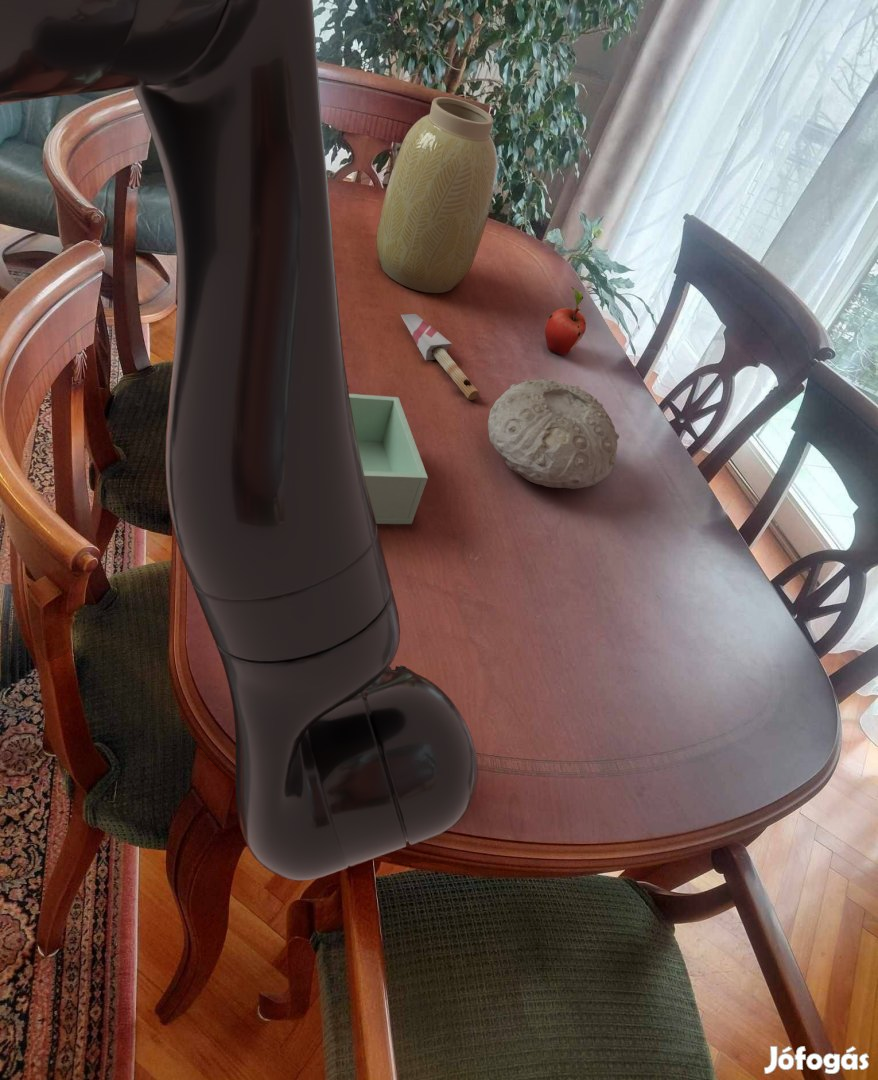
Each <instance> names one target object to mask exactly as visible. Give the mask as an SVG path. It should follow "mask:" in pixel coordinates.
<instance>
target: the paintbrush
mask: <svg viewBox="0 0 878 1080" xmlns="http://www.w3.org/2000/svg"><path fill="white" fill-rule="evenodd" d="M400 316H401V318H402V320H403V322H404V324H405V326H406V328H407V329H408V331H409V333H410V335H411V336H412V339H413V341H414V342H415V345H416V346H417V348H418V349H419V352H420V353H421V355H422V357H423V359H424V361H433V360H434V361H435V360H436V361H437V362H438V363H439V365H440V367H442V368H443V370H444V371H445V372H446V373H447V374H448V376H449V377H450V378H451V379H452V381H453V382H454V383H455V384H456V386H457V387H458V389H459V390H460V391H461V392H462V393H463V395H464V396H465V397H466V398H467V400H469V401H474V400H476V399H477V398H478V396H479V395H480V392H479V390H478V389H477V388H476V386H475V384H474V383H472V382H471V380H469V378H468V376H466V374H465V373H464V371H463V370H462V369H461V368H460V367H459V366H458V364H457V363H456V362H455V361H454V359H453V358H452V357H451V356H450V354H449V353H448V352H447V351H448V349H449V347H451V345H452V344H453V343H452V342H451V341H449V340H448V339H447V338H446V337H445V336H443V335H442V334H441V333H440V332H439V331H437V330H436V329H435V328H434V327H432V326H431V325H430V324H429V323H427V322H426V321H425V320H424V319H422V317H420V316H419V315H418V314H416V313H408V314H407V313H406V314H400Z"/></svg>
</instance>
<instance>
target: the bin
mask: <svg viewBox="0 0 878 1080" xmlns="http://www.w3.org/2000/svg"><path fill="white" fill-rule="evenodd" d="M349 398H350V404H351V410H352V416H353V421H354V427H355V433H356V439H357V444H358V448H359V453H360V458H361V463H362V468H363V472H364V477H365V482H366V486H367V490H368V493H369V497H370V501H371V505H372V509H373V513H374V516H375V520H376V525H412V524H413V522H414V518H415V516H416V513H417V510H418V507H419V504H420V502H421V500H422V497H423V493H424V490H425V488H426V485H427V482H428V479H429V477H428V474H427V471H426V469H425V466H424V463H423V460H422V458H421V454H420V452H419V449H418V447H417V444H416V441H415V439H414V436H413V433H412V429H411V427H410V424H409V422H408V419H407V417H406V414H405V411H404V408H403V406H402V403H401V400H400V398H399V396H387V395H386V396H385V395H375V394H374V395H372V394H359V393H349Z"/></svg>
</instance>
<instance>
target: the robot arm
mask: <svg viewBox="0 0 878 1080" xmlns="http://www.w3.org/2000/svg"><path fill="white" fill-rule="evenodd" d="M317 54H318V53H317V43H316V27H315V13H314V2H313V0H0V106H2V105H7V104H12V103H13V104H14V103H19V102H20V103H21V102H26V101H32V100H33V101H34V100H39V99H46V98H53V97H65V96H74V95H75V96H76V95H83V94H91V93H101V92H109V91H119V90H126V89H127V90H128V89H133V92H134V94H135V98H136V99H137V101H138V104H139V106H140V109H141V111H142V113H143V116H144V119H145V122H146V124H147V127H148V130H149V133H150V135H151V138H152V140H153V141H152V142H154V147H155V148H156V149H155V150H156V152H157V156H158V158H159V162H160V165H161V170H162V172H163V176H164V177H163V178H164V181H165V186H166V189H167V194H168V198H169V203H170V210H171V215H172V216H171V217H172V222H173V229H174V231H173V232H174V238H175V246H176V276H177V277H176V279H177V281H176V283H177V284H176V285H177V290H176V291H177V303H176V318H175V319H176V320H175V334H174V335H175V337H174V350H173V360H172V370H171V371H172V372H171V379H170V388H169V398H168V409H167V410H168V411H167V421H166V432H165V453H164V454H165V455H164V461H165V484H166V485H165V486H166V492H167V493H166V494H167V502H168V509H169V515H170V519H171V524H172V529H173V534H174V537H175V541H176V544H177V547H178V550H179V554H180V556H181V559H182V562H183V566H184V568H185V570H186V572H187V575H188V577H189V580H190V582H191V585H192V588H193V590H194V593H195V595H196V598H197V600H198V603H199V606H200V608H201V610H202V613H203V617H204V619H205V620H206V623H207V625H208V628H209V631H210V634H211V637H212V638H213V640H214V643H215V646H216V649H217V651H218V654H219V657H220V660H221V662H222V665H223V669H224V673H225V676H226V680H227V683H228V688H229V694H230V697H231V704H232V712H233V721H234V734H235V797H236V798H235V799H236V810H237V811H236V812H237V817H238V823H239V827H240V831H241V834H242V836H243V840H244V843H245V845H246V846H247V849H248V850H249V852H250V853H251V855H252V856H253V857H254V859H255V860H256V861H257V862H258V863H260V865H261V866H262V867H264V868H265V869H266V870H268V871H269V872H271V873H272V874H274V875H276V876H278V877H281V878H283V879H285V880H288V881H289V880H290V881H293V882H307V881H311V880H318V879H321V878H324V877H327V876H330V875H332V874H336V873H339V872H341V871H343V870H347V869H348V868H349V867H350V868H352V867H355V866H357V865H360V864H363V863H365V862H368V861H371V860H374V859H376V858H379V857H382V856H385V855H387V854H390V853H393V852H396V851H398V850H401V849H404V848H406V847H407V846H408V844H409V845H410V846H413V845H416V844H419V843H422V842H425V841H428V840H430V839H433V838H435V837H438V836H440V835H442V834H444V833H445V832H447V831H449V830H450V829H452V828H453V827H454V826H456V825H457V824H458V823H459V822H460V821H461V819H462V818H463V817H464V816H465V815H466V813H467V812H468V810H469V808H470V807H471V804H472V802H473V800H474V797H475V794H476V790H477V785H478V779H479V765H478V764H479V763H478V755H477V750H476V746H475V743H474V739H473V736H472V733H471V730H470V728H469V727H468V725H467V722H466V720H465V718H464V717H463V715H462V713H461V711H459V709H458V708H457V706H456V705H455V703H454V702H453V700H452V699H450V697H449V695H447V694H446V693H445V692H444V690H443V689H441V688H440V687H439V686H438V685H437V684H435V683H434V682H433V681H431V680H430V679H428V678H426V677H424V676H423V675H421V674H418V673H416V672H415V671H413V670H412V669H410V668H407V666H406V665H399V666H398V665H397V666H395V668H394V669H392V667H391V665H392V663H393V661H394V660H395V657H396V655H397V653H398V650H399V646H400V640H401V639H400V638H401V627H400V616H399V612H398V606H397V602H396V598H395V594H394V590H393V587H392V583H391V577H390V574H389V569H388V565H387V562H386V557H385V554H384V553H385V552H384V549H383V545H382V542H381V537H380V532H379V529H378V526H377V525H378V524H376V520H375V516H374V513H373V509H372V505H371V501H370V497H369V493H368V490H367V486H366V482H365V477H364V472H363V468H362V463H361V458H360V453H359V448H358V444H357V439H356V433H355V427H354V421H353V416H352V410H351V404H350V398H349V394H350V393H349V392H350V391H349V385H348V379H347V373H346V365H345V364H346V363H345V358H344V350H343V349H344V348H343V340H342V339H343V338H342V329H341V320H340V319H341V318H340V310H339V299H338V298H339V296H338V289H337V288H338V286H337V278H336V267H335V254H334V253H335V252H334V242H333V229H332V217H331V206H330V205H331V204H330V194H329V183H328V173H327V162H326V152H325V142H324V141H325V140H324V133H323V122H322V109H321V95H320V93H321V92H320V82H319V81H320V80H319V79H320V78H319V67H318V56H317Z"/></svg>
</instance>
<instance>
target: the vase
mask: <svg viewBox="0 0 878 1080" xmlns="http://www.w3.org/2000/svg"><path fill="white" fill-rule="evenodd" d="M493 124H494V118H493V116H492V115H491V114H490V113H489V112H487V111H486V110H484V109H482V108H481V107H479V106H476V105H474V104H472V103H470V102H467V101H464V100H462V99H461V100H460V99H458V98H453V97H448V96H447V97H446V96H439V97H438V96H437V97H434V98H433V100H432V102H431V107H430V112H429V113H428V114H426V115H424V116H422V117H420V119H418V120H417V121H416V122H415V123H414V124H413V125H412V126H411V127H410V129H409V130H408V131H407V133H406V135H405V136H404V139H403V141H402V143H401V146H400V148H399V150H398V152H397V156H396V158H395V161H394V164H393V167H392V170H391V173H390V177H389V180H388V182H387V183H388V184H387V186H386V190H385V194H384V198H383V202H382V206H381V209H380V210H381V211H380V215H379V220H378V225H377V231H376V240H375V242H376V243H375V244H376V245H375V246H376V252H377V256H378V261H379V264H380V267H381V269H382V271H383V272H384V273H385V274H386V276H388V277H389V278H390V279H391V280H393V281H394V282H396V283H398V284H399V285H402V286H404V287H405V288H408V289H411V290H414V291H417V292H422V293H427V294H442V293H447V292H450V291H452V290H453V289H455V287H456V286H458V285H459V284H460V283H461V282H462V281H463V279H464V278H465V277H466V276H467V275H468V273H469V271H470V270H471V268H472V266H473V263H474V262H475V261H474V260H475V258H476V255H477V254H478V250H479V247H480V245H481V242H482V238H483V235H484V232H485V228H486V225H487V222H488V218H489V214H490V210H491V206H492V202H493V197H494V194H495V188H496V183H497V176H498V166H499V164H498V161H499V160H498V154H497V149H496V148H497V147H496V145H495V142H494V140H493V138H492V136H491V130H492V127H493Z"/></svg>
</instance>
